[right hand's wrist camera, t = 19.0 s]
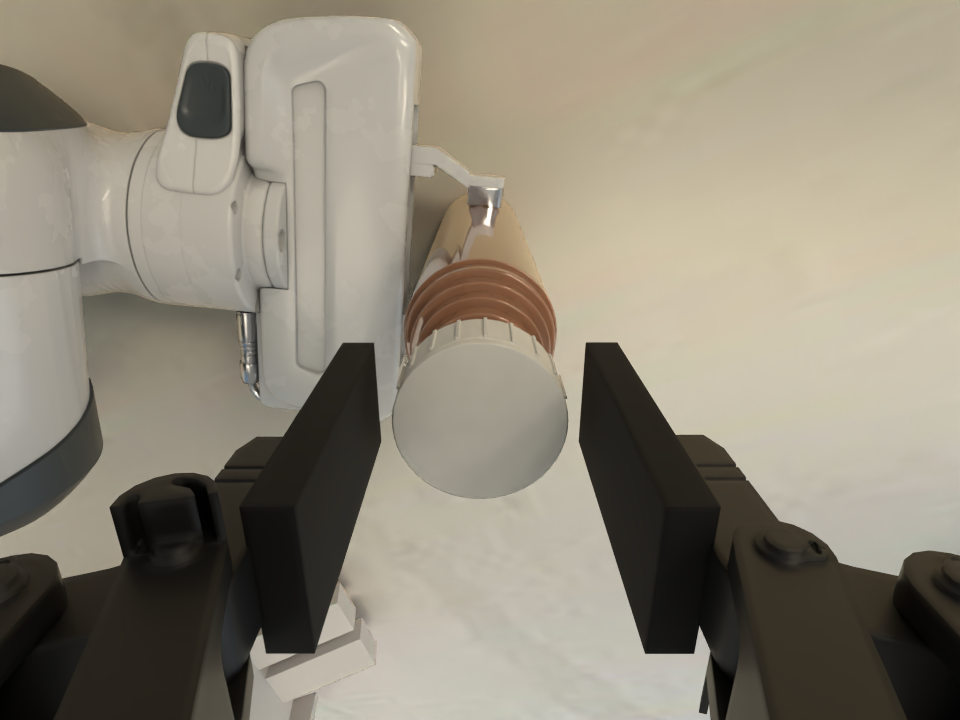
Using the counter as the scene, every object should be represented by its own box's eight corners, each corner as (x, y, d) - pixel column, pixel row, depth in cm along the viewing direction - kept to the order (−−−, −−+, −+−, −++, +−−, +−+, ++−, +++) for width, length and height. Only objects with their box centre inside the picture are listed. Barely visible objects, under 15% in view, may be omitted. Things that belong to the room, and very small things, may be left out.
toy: (390, 745, 40) (-10, 914, 40) (393, 606, 53) (88, 735, 53) (306, 619, 36) (-139, 808, 36) (331, 501, 48) (0, 641, 49)
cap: (579, 335, 14) (592, 362, 12) (537, 475, 15) (544, 514, 14) (414, 300, 14) (406, 323, 12) (387, 446, 15) (377, 483, 14)
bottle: (425, 234, 37) (332, 420, 14) (476, 174, 35) (470, 265, 12) (483, 285, 38) (488, 533, 15) (534, 228, 37) (629, 403, 14)
